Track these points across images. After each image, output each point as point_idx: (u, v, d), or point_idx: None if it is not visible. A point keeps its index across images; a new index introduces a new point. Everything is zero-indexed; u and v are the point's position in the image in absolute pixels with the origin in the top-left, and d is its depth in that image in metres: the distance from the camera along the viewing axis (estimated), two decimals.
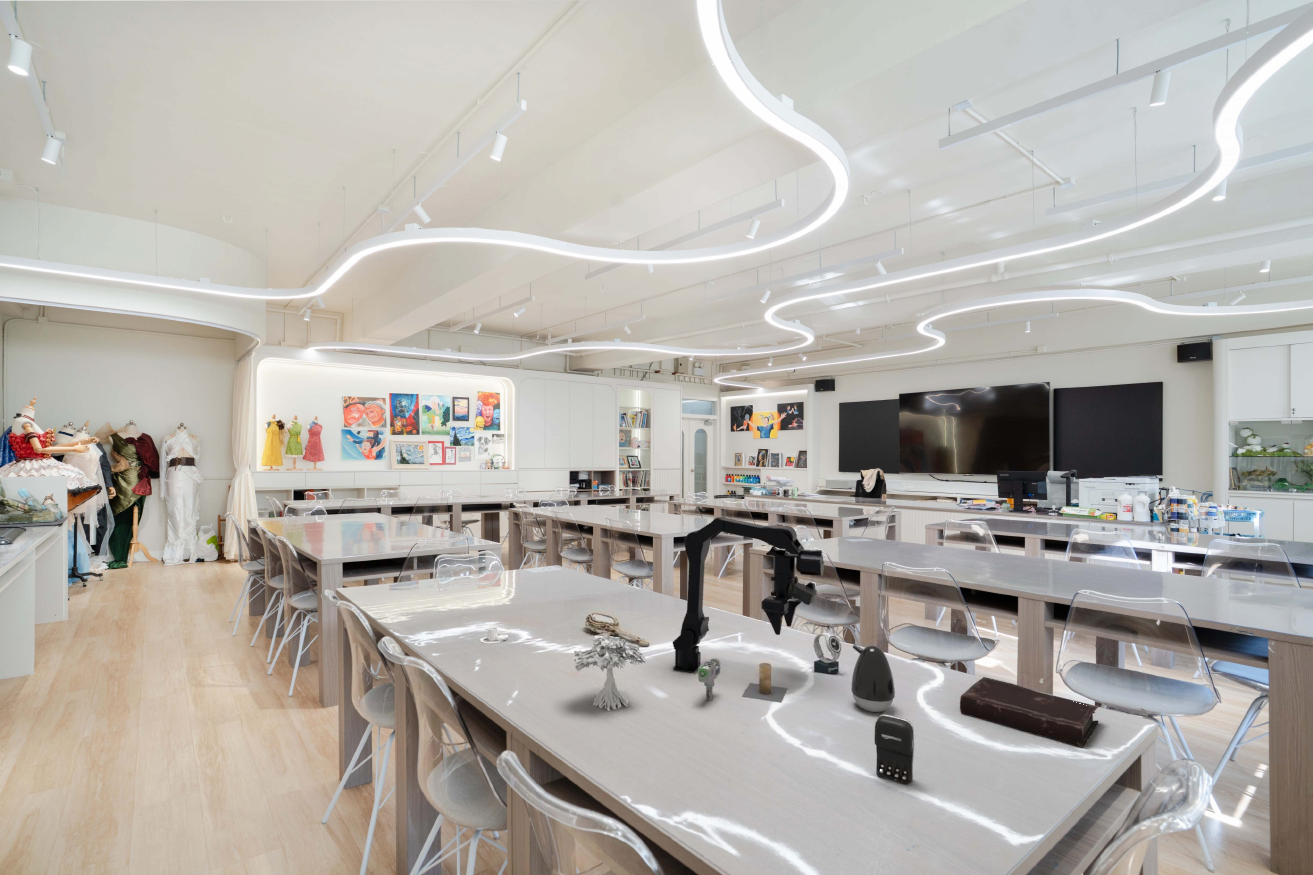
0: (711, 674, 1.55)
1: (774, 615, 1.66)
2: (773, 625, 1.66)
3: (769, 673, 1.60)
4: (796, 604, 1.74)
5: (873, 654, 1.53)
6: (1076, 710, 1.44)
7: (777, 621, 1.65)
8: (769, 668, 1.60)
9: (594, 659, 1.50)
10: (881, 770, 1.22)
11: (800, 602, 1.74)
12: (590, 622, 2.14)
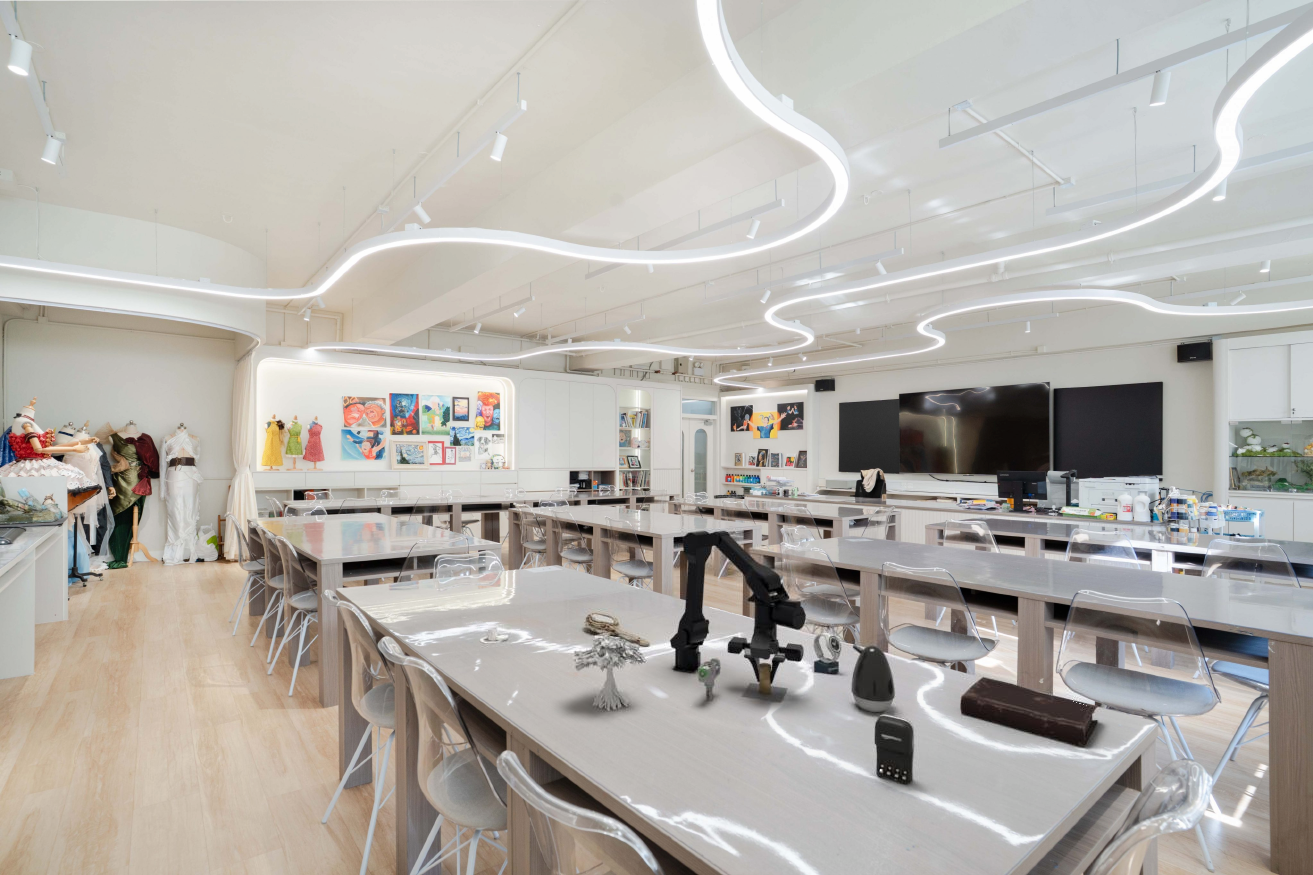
0: (711, 674, 1.55)
1: None
2: None
3: (769, 673, 1.60)
4: (772, 661, 1.59)
5: (873, 654, 1.53)
6: (1076, 710, 1.44)
7: None
8: (769, 668, 1.60)
9: (594, 659, 1.50)
10: (881, 770, 1.22)
11: (772, 660, 1.58)
12: (590, 622, 2.14)
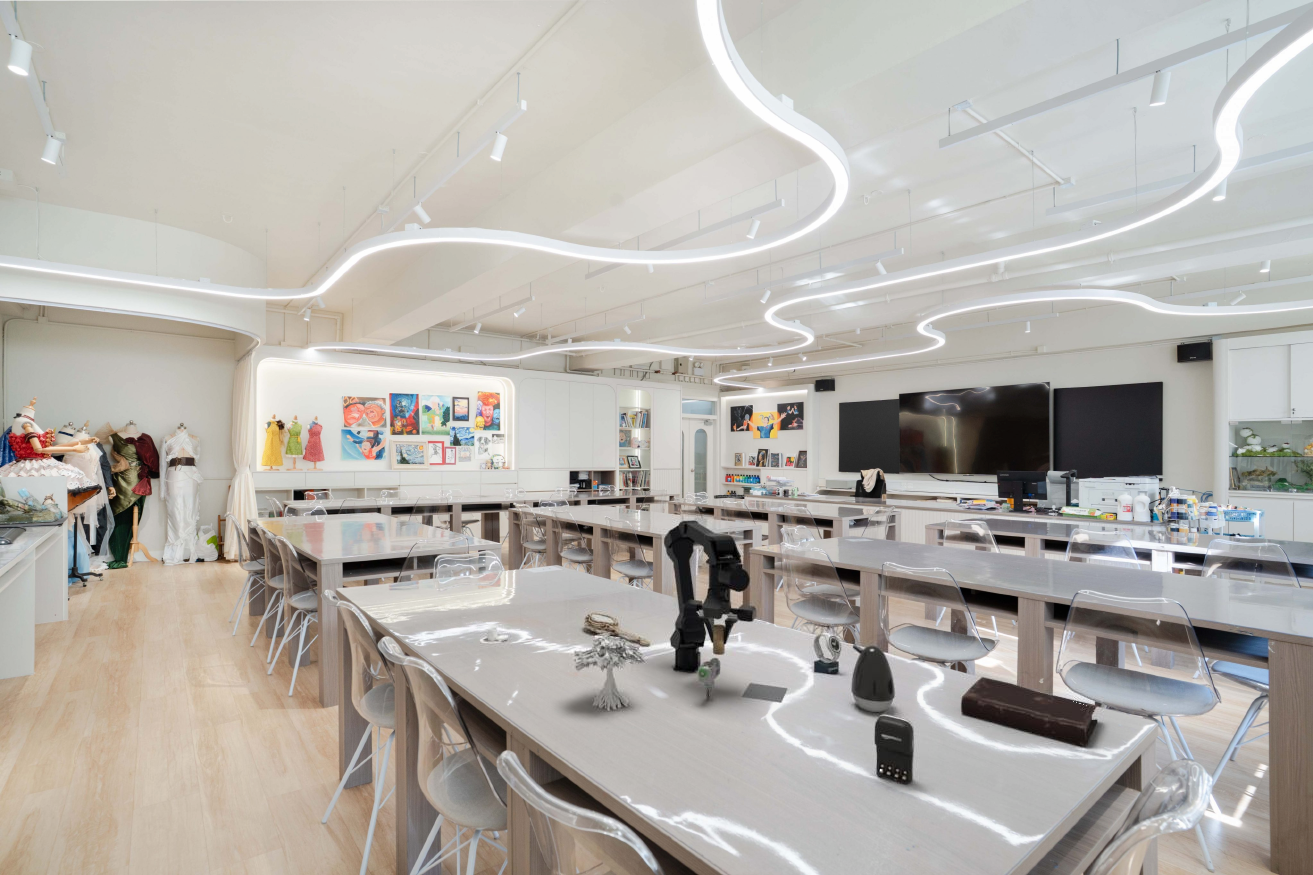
0: (711, 674, 1.55)
1: None
2: None
3: (722, 634, 1.63)
4: (725, 622, 1.62)
5: (873, 654, 1.53)
6: (1076, 710, 1.44)
7: None
8: (722, 629, 1.63)
9: (594, 659, 1.50)
10: (881, 770, 1.22)
11: None
12: (590, 622, 2.14)
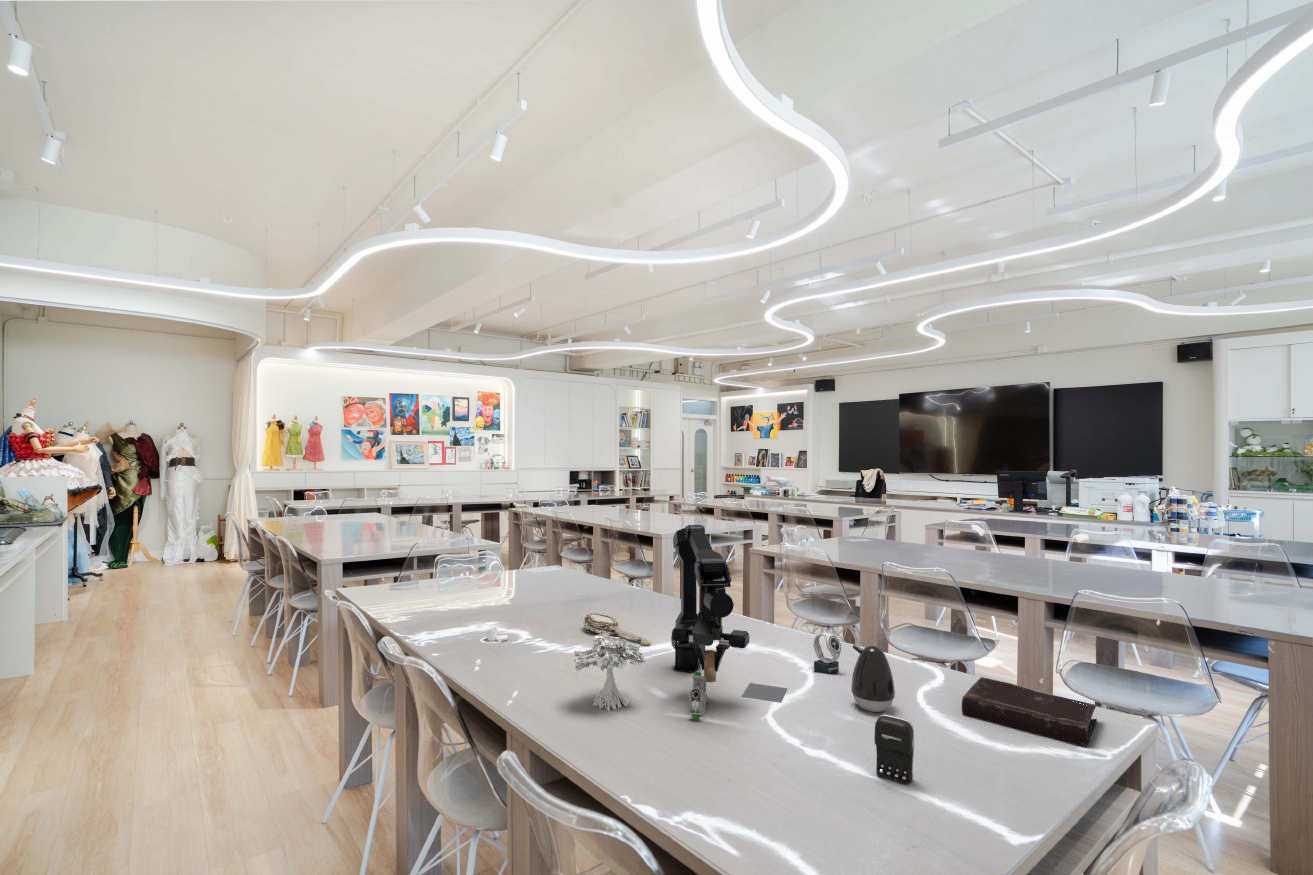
0: (702, 702, 1.49)
1: None
2: None
3: (714, 660, 1.55)
4: None
5: (873, 654, 1.53)
6: (1077, 710, 1.44)
7: None
8: (714, 655, 1.55)
9: (594, 659, 1.50)
10: (881, 770, 1.22)
11: None
12: (589, 622, 2.14)
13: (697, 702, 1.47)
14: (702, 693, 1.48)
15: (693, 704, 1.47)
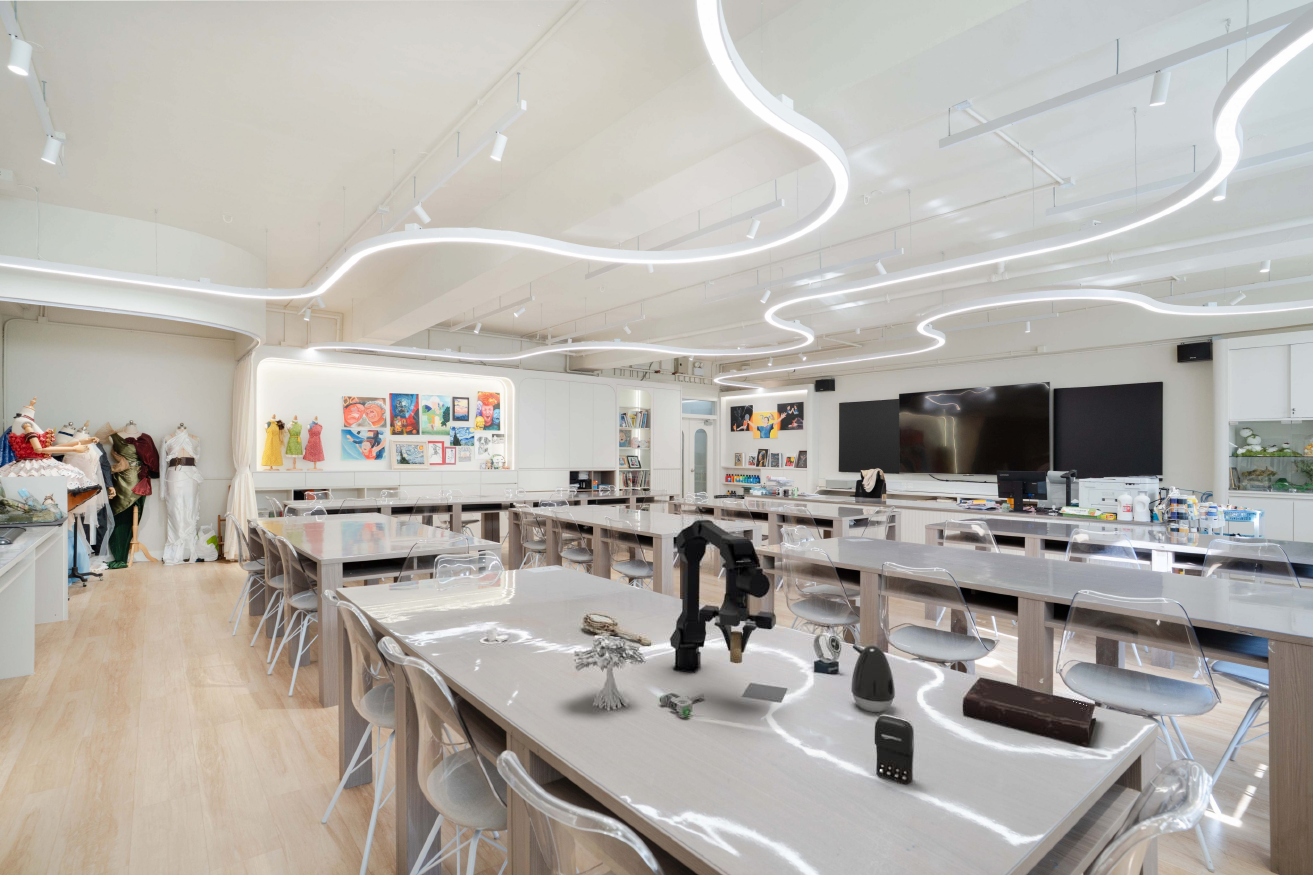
0: (682, 701, 1.51)
1: None
2: None
3: (740, 641, 1.56)
4: None
5: (873, 654, 1.53)
6: (1077, 709, 1.44)
7: None
8: (740, 636, 1.56)
9: (594, 659, 1.50)
10: (881, 770, 1.22)
11: None
12: (589, 622, 2.13)
13: (677, 705, 1.50)
14: (673, 698, 1.52)
15: (677, 710, 1.49)
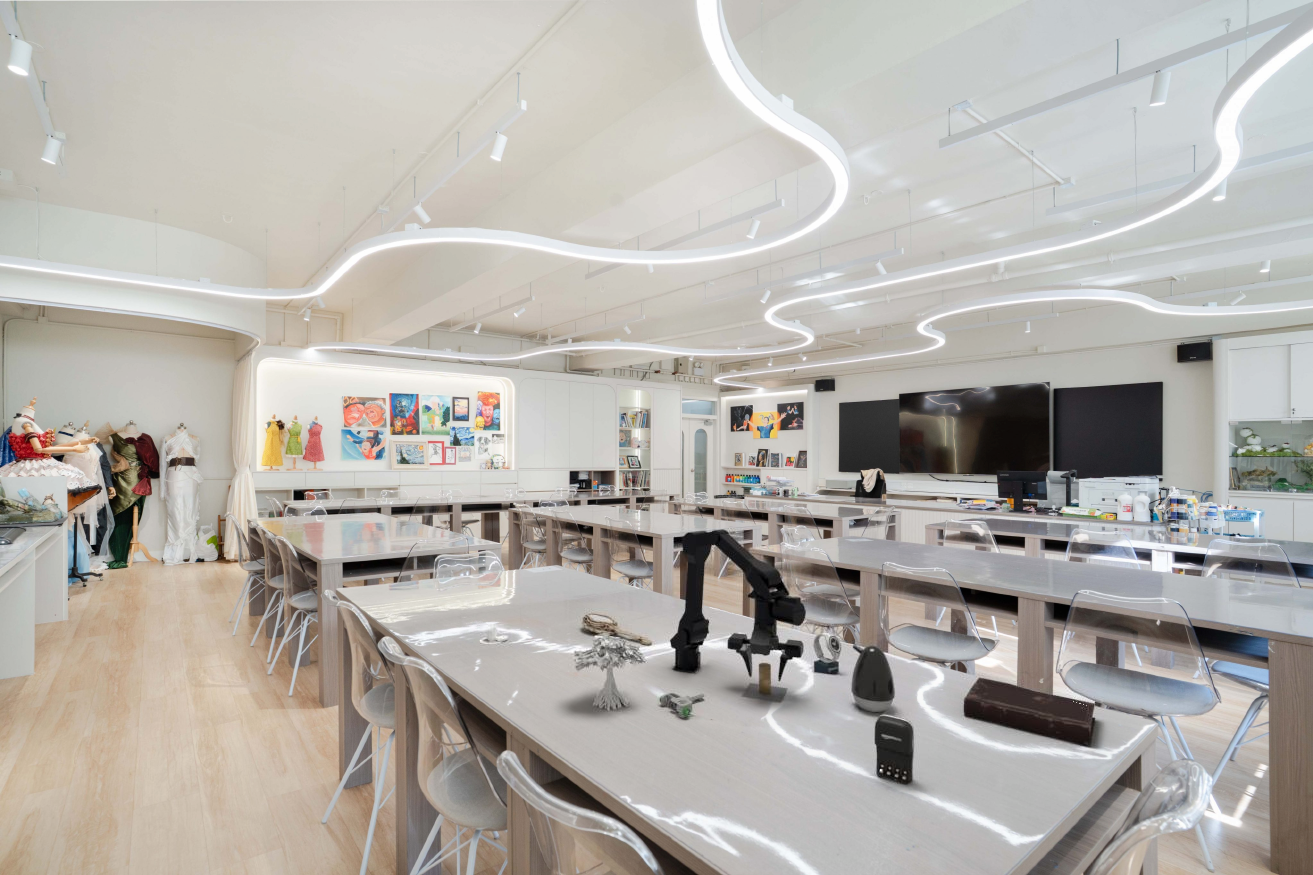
0: (682, 701, 1.51)
1: None
2: None
3: (769, 673, 1.60)
4: (780, 658, 1.58)
5: (873, 654, 1.53)
6: (1077, 709, 1.45)
7: None
8: (769, 668, 1.60)
9: (594, 659, 1.50)
10: (881, 770, 1.22)
11: (780, 657, 1.57)
12: (588, 622, 2.13)
13: (677, 705, 1.50)
14: (673, 698, 1.52)
15: (677, 710, 1.49)
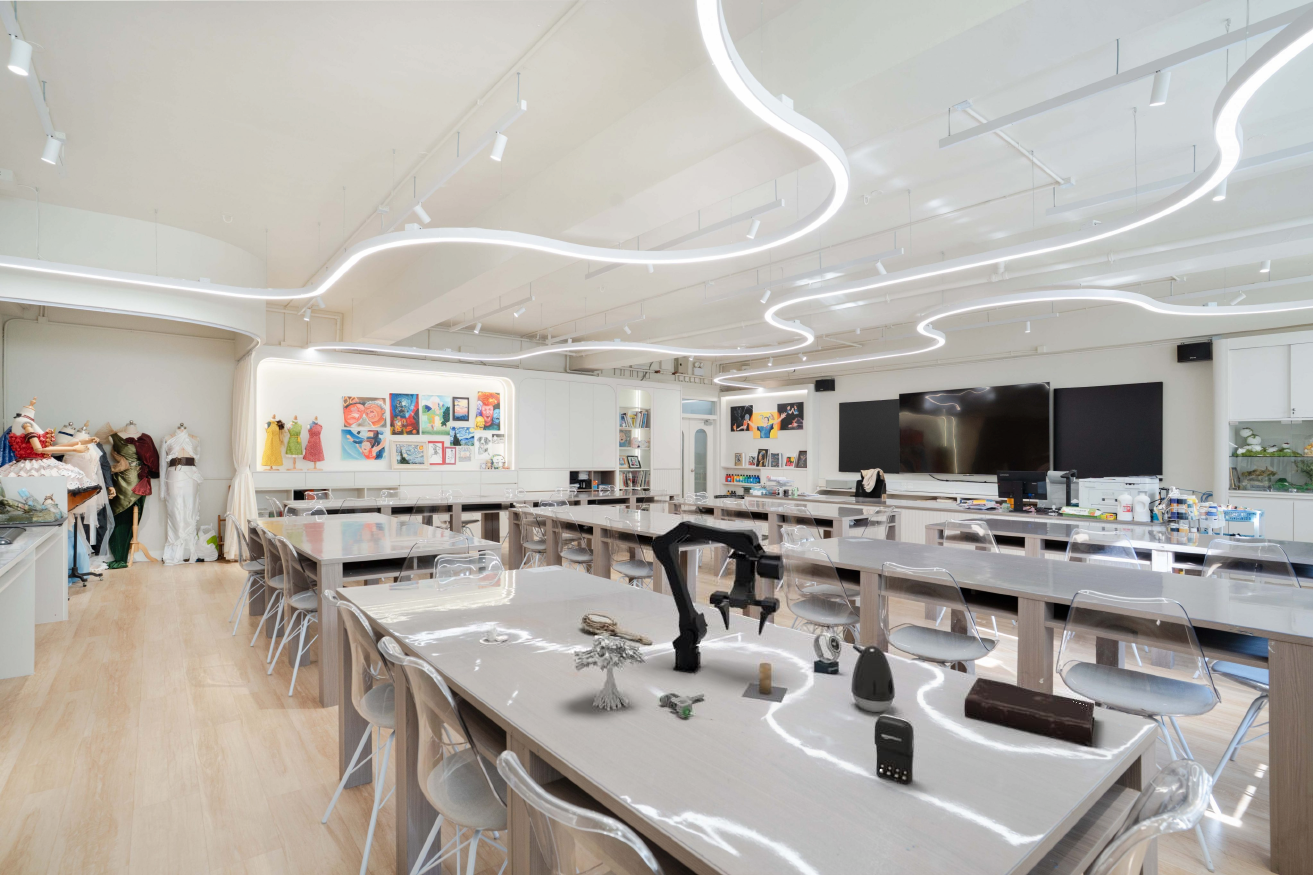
0: (682, 701, 1.51)
1: None
2: None
3: (769, 673, 1.60)
4: None
5: (873, 654, 1.53)
6: (1077, 709, 1.45)
7: None
8: (769, 668, 1.60)
9: (594, 659, 1.50)
10: (881, 770, 1.22)
11: (760, 612, 1.70)
12: (588, 623, 2.13)
13: (677, 705, 1.50)
14: (673, 698, 1.52)
15: (677, 710, 1.49)
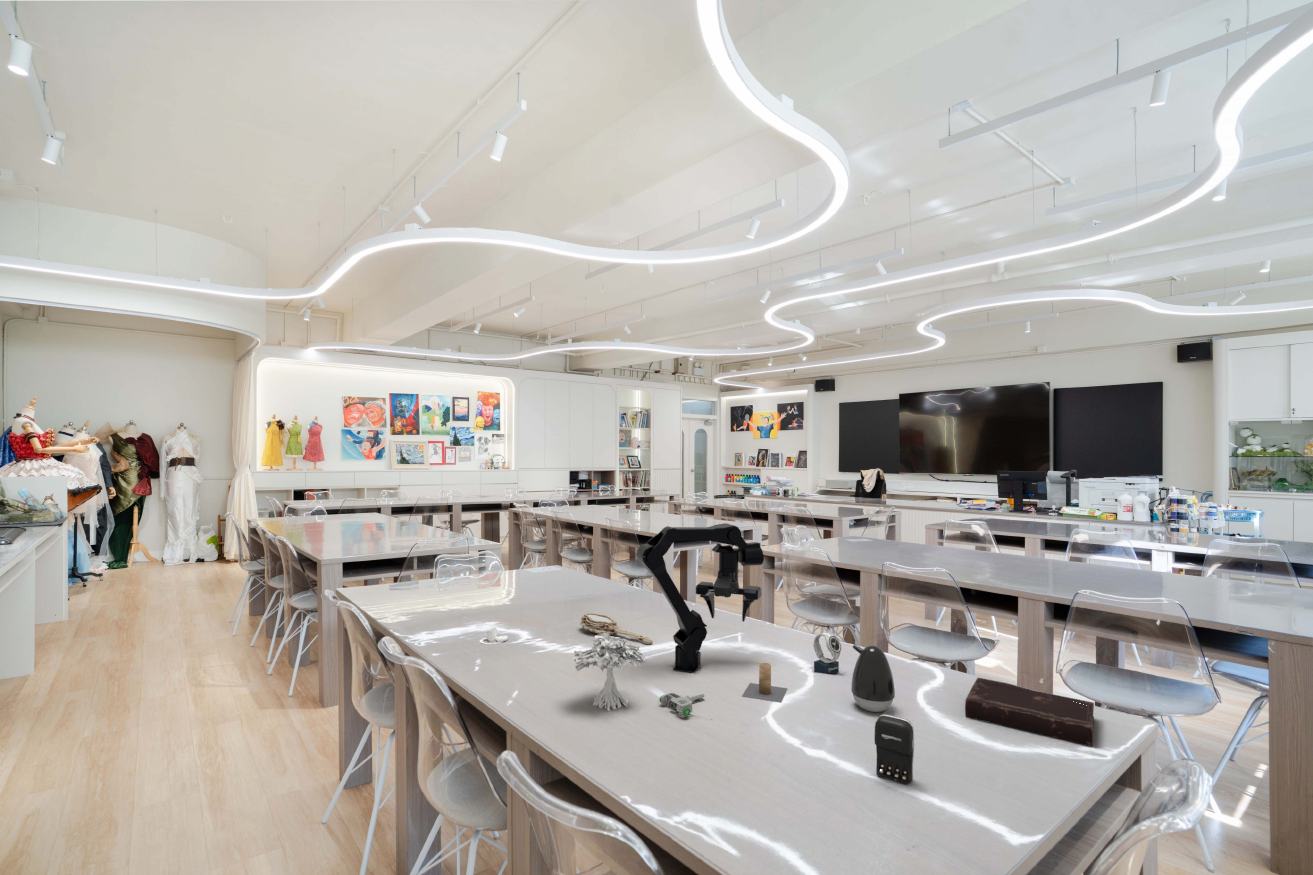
0: (682, 701, 1.51)
1: None
2: None
3: (769, 673, 1.60)
4: None
5: (873, 654, 1.53)
6: (1077, 708, 1.45)
7: None
8: (769, 668, 1.60)
9: (594, 659, 1.50)
10: (881, 770, 1.22)
11: (743, 600, 1.81)
12: (588, 623, 2.13)
13: (677, 705, 1.50)
14: (673, 698, 1.52)
15: (677, 710, 1.49)
